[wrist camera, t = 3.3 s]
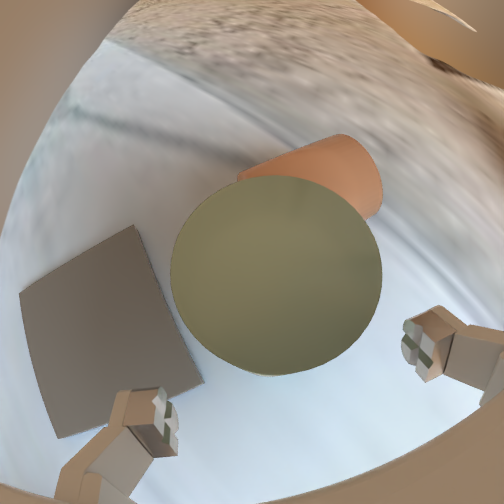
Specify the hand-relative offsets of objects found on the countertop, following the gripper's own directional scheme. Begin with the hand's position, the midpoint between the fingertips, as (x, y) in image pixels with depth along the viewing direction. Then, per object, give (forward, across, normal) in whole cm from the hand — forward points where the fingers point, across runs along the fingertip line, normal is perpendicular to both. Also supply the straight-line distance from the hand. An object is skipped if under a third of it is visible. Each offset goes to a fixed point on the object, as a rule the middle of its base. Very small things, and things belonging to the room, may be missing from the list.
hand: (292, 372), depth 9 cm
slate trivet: (+10, +12, +3) cm, 15 cm away
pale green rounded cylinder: (+8, 0, +4) cm, 9 cm away
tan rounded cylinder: (+14, -4, -4) cm, 15 cm away
